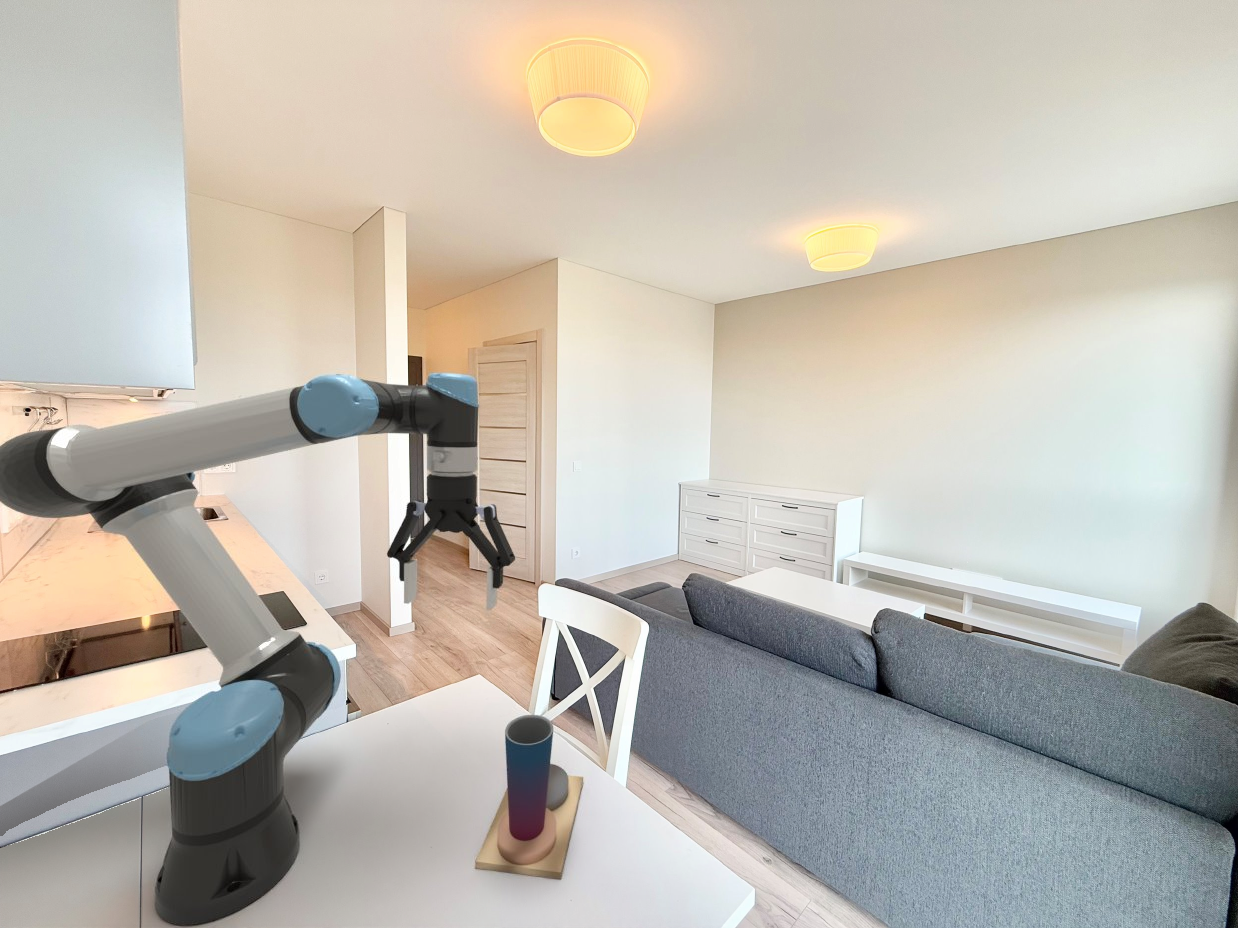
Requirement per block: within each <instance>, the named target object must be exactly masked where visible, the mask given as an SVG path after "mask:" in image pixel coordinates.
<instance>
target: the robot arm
mask: <svg viewBox="0 0 1238 928" xmlns="http://www.w3.org/2000/svg"><path fill="white" fill-rule="evenodd" d="M478 394H479V392H478V381H477V379H476V378H475V377H473V376H471V375H468V374H462V373H453V372H452V373H451V372H432V373H430V374H428V375H427V381H426V382H425V384H424V385H423V384H422V385H409V384H408V385H407V384H406V385H405V384H395V383H393V384H392V383H385V382H379V381H374V380H367V379H362V378H357V377H355V376H353V375H346V374H343V373H342V374H341V373H340V374H339V373H338V374H324V375H319V376H316V377H313V378H312V379H311V380H310V381H308V382H307V383H306V384H305V385H301V386H295V387H290V388H289V387H288V388H285V389H280V390H275V391H271V392H270V391H269V392H265V393H261V394H257V395H251V396H248V397H247V396H246V397H242V398H238V399H233V400H228V401H223V402H218V403H214V404H209V405H204V406H201V407H195V408H191V409H186V410H182V411H181V410H180V411H176V412H172V413H167V414H166V413H165V414H163V415H162V414H161V415H157V416H152V417H148V418H143V419H138V420H134V421H129V422H124V423H119V424H115V425H111V426H105V427H101V428H97V427H94V426H92V425H86V424H72V425H68V426H67V425H66V426H62V427H59V428H58V427H57V428H52V429H43V430H36V431H35V430H34V431H29V432H26V433H22V434H20V435H16V436H15V437H13V438H10V439H8V440H6V441H5V442H4V443H2V444H1V445H0V503H1V504H2V505H4V506H5V507H7V508H9V509H11V510H13V511H15V512H18V513H20V514H22V515H23V514H24V515H26V516H31V517H37V518H43V519H63V518H72V517H78V516H79V517H80V516H84V515H89V514H90V516H91V517H92V518H93V520H94V521H95V523H97V525H98V526H99V528H100V529H101V530H102V531H103V533H108V534H114V535H120V536H123V537H125V539H126V540H127V541H128V542H129V544H130V545H131V546H132V547H133V550H135V552H136V553H137V554H138V556H139V557H140V558H141V559H142V561H143V562H144V564H145V565H146V566H147V568H148V569H149V570H150V572H151V573H152V575H153V576H154V577H155V578H156V580H157V581H158V582H159V584H160V585H161V586H162V588H163V589H164V590H165V591H166V593H167V595H168V596H169V597H170V599H172V601H173V602H174V603H175V606H176V607H177V608H178V610H179V611H180V612H181V614H183V616H184V617H185V618H186V620H187V621H188V622H189V623H190V625H191V627H192V628H193V629H194V631H195V632H196V633H197V635H198V636H199V638H200V639H201V640H202V642H203V643H204V644H205V645H206V646H207V648H208V649H209V651H210V652H211V653H212V654H213V657H215V659H217V661H218V663H219V664H220V665H221V667H222V672H221V674H220V675H221V676H220V678H219V681H218V685H219V686H220V689H218V690H217V691H215V690H212V691H209V692H207V693H205V694H204V695H201V697H199V698H197V699H195V700H194V701H193V702H192V703H190V704H189V705H188V706H186V707H185V709H183V710H182V711H181V713H180V714H178V716H177V717H176V718H175V720H174V722H173V724H172V726H171V728H170V732H169V735H168V737H169V738H168V739H169V740H168V748H167V753H166V763H167V767H168V771H169V772H168V773H169V775H168V776H169V793H170V798H169V799H170V812H171V815H170V816H171V834H172V835H171V838H170V840H169V844H168V847H167V850H166V853H165V855H164V859H163V861H162V866H161V868H160V870H159V872H158V875H157V878H156V882H155V885H154V897H155V898H154V899H155V910H156V912H157V913H158V915H159V917H160V918H162V919H163V920H164V921H166V922H169V923H170V924H174V925H180V926H181V925H182V926H187V925H188V926H189V925H199V924H204V923H208V922H211V921H215V920H219V919H221V918H224V917H227V916H229V915H231V914H233V913H235V912H238V911H239V910H241V909H243V908H245V907H246V906H249V904H251V903H253V902H254V901H256V900H257V899H259V898H261V897H262V896H263V895H264V894H266V893H267V892H268V891H270V890H271V888H274V887H275V885H276V884H277V883H279V882H280V880H282V878H283V877H284V876H285V875H286V874H287V872H288V871H289V869H291V867H292V865H293V863H294V862H295V860H296V858H297V856H298V853H299V849H300V842H301V841H300V840H301V839H300V826H299V822H298V819H297V818H296V816H295V815H294V814H293V811H292V809H291V805H290V804H289V802H288V800H287V798H286V796H285V795H284V794H285V793H284V790H285V789H284V782H285V781H284V760H285V758H286V756H287V754H289V752H291V750H292V749H293V747H294V746H295V745H296V744H297V743H298V742H299V741H300V739H302V737H303V736H304V735H305V734H306V733H307V732H308V730H309V728H310V727H311V726H312V725H313V724H314V723H315V722H316V720H318V719H319V718H321V716H322V715H323V714H324V712H325V711H326V710H327V709H328V708H329V706H330V705H331V702H332V700H333V699H334V697H335V696H336V695H337V692H338V691H339V687H340V683H341V676H342V675H341V674H342V673H341V667H340V664H339V660H338V658H337V657H336V655H335V654H334V652H333V651H332V650H331V649H330V648H328V647H327V646H325V645H323V644H321V643H320V644H316V642H314V641H306V640H305V639H304V637H303V636H302V634H301V633H300V632H299V631H294V630H293V631H292V630H285V629H283V628H282V627H281V625H280V623H278V621H277V619H276V618H275V617H274V615H273V614H272V612H271V611H270V610H269V608H268V607H267V606H266V604H265V602H264V601H263V600H262V599H261V597H260V596H259V595H258V593H257V592H256V590H255V589H254V587H253V586H252V585H251V583H250V582H249V580H248V579H247V577H245V575H244V574H243V572H242V571H241V569H240V568H239V567H238V565H237V564H236V562H235V561H234V560H233V558H232V557H231V556H230V554H229V553H228V551H227V550H226V548H225V547H224V546H223V544H222V543H221V541H220V539H218V537H217V536H216V535H215V533H214V532H213V530H212V529H211V528H210V526H209V525H208V524H207V521H205V519H204V518H203V517H202V515H201V514H200V512H199V511H198V510H197V508H196V507H195V504H196V503H195V502H196V500H197V497H198V495H199V490H198V489H197V488H196V487H195V485H194V483H193V482H194V481H195V478H196V474H195V472H199V471H203V470H208V469H213V468H216V467H221V466H225V465H230V464H234V463H237V462H238V463H239V462H243V461H247V460H252V459H256V458H261V457H265V456H270V455H274V454H278V453H283V452H288V451H292V450H296V449H300V448H304V447H309V446H313V445H317V444H325V443H328V442H329V443H330V442H333V441H339V440H342V439H347V438H351V437H358V436H367V435H378V434H379V435H381V434H402V435H403V434H406V435H407V434H409V435H410V434H412V435H413V434H414V435H426V445H427V446H426V447H427V448H426V470H427V471H428V472H430V473H429V474H428V475H427V476H426V498H427V500H426V501H427V502H422V500H419V499H415V500H413V501H409V502H407V504H406V510H405V516H404V519H403V521H402V522H401V525H400V526H399V528H398V530H397V532H396V535H395V537H394V538H393V540H392V542H391V543H390V547H389V549H388V550H387V552H386V556H387V557H388V558H389V559H392V558H393V559H395V560H397V561H398V568H399V569H398V572H399V573H398V574H399V575H398V577H399V578H398V579H399V581H400V582H403V603H404V604H408V605H409V604H411V603H412V602H413V601H414V600H416V599H417V598H418V559H417V558H416V559H415V558H414V557H415V554H416V553H417V552H419V550H420V548H422V546H423V545H425V544H426V542H427V541H428V539H430V538H431V536H432V535H433V534H434V533H435V532H436V531H437V530H438V531H439V532H440V533H445V532H446V533H447V532H450V533H454V534H459V533H463V534H464V536H466V537H468V538H469V539H470V540H471V542H472V543H473V545H474V546H475V547H476V548H477V550H478V551H479V552H480V553H481V555H482V556H483V557H484V559H485V560H486V562H488V564H489V565H490V566H489V567H488V568H486V569H487V570H486V603H485V606H486V608H485V609H486V610H487V611H491V610H493V609H494V608H495V607H496V606H497V604H498V589H500V588H501V587H502V585H503V583H504V568H505V567H509V566H510V565H511V564H513V562H515V560H516V556H515V554H514V552H513V549H512V547H511V545H510V543H509V540H508V539H507V536H506V534H505V531H504V529H503V528H502V524H501V523H500V521H499V519H498V513H497V512H498V511H497V506H496V504H493V503H492V504H489V505H486V506H483V505H482V506H479V505H478V503H477V496H478V495H477V494H478V476H477V475H476V474H475V472H476V471H477V470H478V430H479V408H480V403H479V395H478ZM423 513H425V514H426V516H427V517H428V521H427V522H426V523H425V525H424V526H423V527H422V529H421V530H420V531H419V532H418V534H417V535H416V536H415V537H414V538H413V539H412V540H411V541H410V543H409V544H407V542H408V541H409V539H410V537H411V535H412V533H413V531H414V528H415V527H416V525H417V523H418V521H419V519H420V517H421V516H422V515H423ZM478 515H479V516H480V518H481V520H483V521H484V525H485V526H486V529H487V531H488V533H489V535H490V537H491V540H492V542H493V544H494V545H493V544H492V542H491V541H490V540H489V539H488V537H487V536H486V534H485V533H484V532H483V530H482V529H481V526H480V525H479V523H478V522H477V521H476V517H477V516H478ZM406 545H407V546H406Z"/></svg>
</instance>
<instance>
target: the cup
mask: <svg viewBox="0 0 1238 928" xmlns="http://www.w3.org/2000/svg"><path fill="white" fill-rule="evenodd" d="M504 738H505V739H504V740H505V759H506V762H505V763H506V764H505V765H506V781H507V782H506V784H507V787H506V789H507V788H508V811H509V831H510V834H511V835H512V836H513V837H514V838H515V839H517V840H521V841H528V840H532V839H534V838H536V837H537V836H539V835H540V834H541V832H542V831H543V829H544V823H545V812H546V802H547V791H548V781H549V770H550V764H551V761H552V760H551V758H552V749H553V738H554V725H553V723H552V721H551V720H550V719H549V718H547V717H545V716H543V715H539V714H526V715H520V716H518V717H516V718H514V719H511V721H509V723H508V724H507V725H506V726H505V729H504Z"/></svg>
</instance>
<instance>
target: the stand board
mask: <svg viewBox="0 0 1238 928" xmlns="http://www.w3.org/2000/svg"><path fill="white" fill-rule="evenodd" d="M583 785H584V776H577V775H571V774H570V775H568V773H567V772H566V771H565V769H564V768H562V767H561V766H559V765H557V764H554V763H550V770H549V781H548V791H547V802H546V812H545V823H544V829H543V831H542V832H541V834H540V835H539V836H537V837H536V838H534V839H532V840H528V841H521V840H517V839H515V838H514V837H513V836H512V835H511V834H510V831H509V811H508V788H507V787H506V790H505V792H504V795H503V797H502V799H501V802H500V804H499V805H498V809H497V810H496V813H495V815H494V818H493V819H492V822H491V825H490V827H489V830H488V831H487V834H486V837H485V838H484V840H483V843H482V845H481V847H480V850H479V852H478V854H477V857H476V860H475V863H474V868H475V869H478V870H479V869H481V870H488V871H493V872H502V873H509V874H518V875H525V876H534V877H541V878H547V879H548V878H549V879H557V880H561V879H562V876H563V871H564V866H565V863H566V858H567V854H568V849H569V844H570V841H571V836H572V832H573V827H574V823H575V819H576V814H577V810H578V806H579V801H580V797H581V793H582V789H583Z"/></svg>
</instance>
